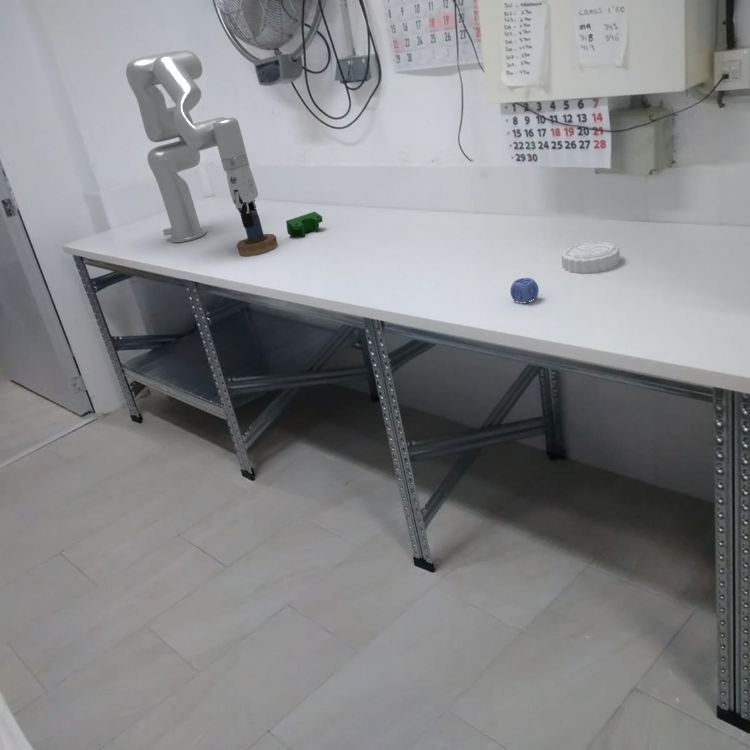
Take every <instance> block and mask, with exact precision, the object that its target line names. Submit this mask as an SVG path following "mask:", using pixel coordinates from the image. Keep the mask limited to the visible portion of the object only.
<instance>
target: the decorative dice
mask: <svg viewBox="0 0 750 750" xmlns="http://www.w3.org/2000/svg"><path fill="white" fill-rule="evenodd" d="M539 292H540V291H539V285H538V283H537V281H535V280H534V279H533V278H530V277H523V278H518V279H515V280H514V281H513V282H512V284H511V286H510V296H511V298H512V300H513V301H514V302H515V301H518V302H529V301H531V300H533V299H535V298H536V299H537V298H538V295H539ZM536 299H535V300H536Z"/></svg>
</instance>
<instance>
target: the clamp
mask: <svg viewBox="0 0 750 750" xmlns="http://www.w3.org/2000/svg"><path fill="white" fill-rule="evenodd" d="M322 222H323V216H322V215H320V214H319V213H318V212H316V211H312V212H309V213H306V214H303V215H300V216H296V217H293V218H291V219H288V220H285V223H286V230H287V231H286V232H287V234H288V235H289V236H290V237H292V238H295V237H297V236H301V237H303V238H305V237H306V233H310V232H315V233H318V232H319V230H318V229H319V227H320V223H322Z"/></svg>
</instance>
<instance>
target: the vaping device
mask: <svg viewBox="0 0 750 750" xmlns="http://www.w3.org/2000/svg"><path fill="white" fill-rule="evenodd" d="M242 203H245V202H244V201H242V202H241V204H242ZM242 206H244V207H245V205H242ZM245 208H246V207H245ZM256 210H257V209H256ZM256 210H252V211H249V212H250V213H251V214H252V218H253V222H254V226H253V227H246V228H244V230H245V233H246V237H247V238H248V240H249V241H250V240H254V239H258V238H262V237H263V234H264V231H263V227H262V223H261V220H260V216H259V214H257V213H258V212H257V213H256ZM241 223H242V224H243V222H242V221H241Z"/></svg>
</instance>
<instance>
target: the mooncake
mask: <svg viewBox="0 0 750 750" xmlns="http://www.w3.org/2000/svg"><path fill="white" fill-rule="evenodd" d="M620 254H621V252H620V247H619V246H618V245H616V244H614V243H613V244H612V243H610V242H606V241H592V242H591V241H590V242H585V243H578V244H575V245H572V246H570V247H569V248H567V249H565V250H564V251H563V252H561V263H562V265H561V266H562V269H563V270H564V271H566V272H568V273H575V274H590V273H591V274H595V273H596V274H597V273H599V272H605V271H606V272H607V270H611V269H613V268H615V267H617V266H618V265H619V264H620V263H621V257H620V256H621V255H620Z"/></svg>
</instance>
